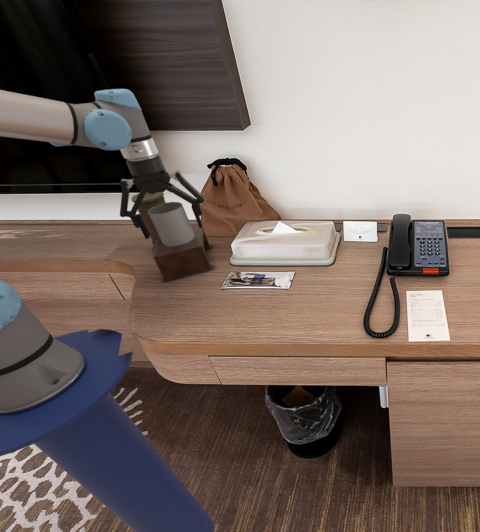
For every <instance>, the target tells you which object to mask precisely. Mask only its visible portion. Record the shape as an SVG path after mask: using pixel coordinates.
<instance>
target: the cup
mask: <svg viewBox="0 0 480 532" xmlns="http://www.w3.org/2000/svg"><path fill="white" fill-rule="evenodd" d="M148 214H149V216H150V218H151V220H152V222H153V224H154V226H155V228H156V230H157V232H158V234H159V237H160V239H161V241H162V243H163V245H165V246H171V247H173V246H179V245H182V244H185V243H188V242H190V241H191V240H193V239H194V238H195V234H194V232H193V229H192V227H191V226H192V224H191V221H190V220H189V217H188V215H187V212H186V209H185V208H184V206H183V203H182V202H180V201H170V202H166V203H163V204H159V205H156V206H154V207H152V208H150V209H149V210H148Z"/></svg>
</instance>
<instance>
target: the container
mask: <svg viewBox="0 0 480 532" xmlns="http://www.w3.org/2000/svg"><path fill="white" fill-rule="evenodd" d="M138 195H139V193H136V194H134V195H132V196H131V201H132V203H133V204H134V203H135V201H136V199H137V197H138ZM164 195H165V192H157V193H154V194H150V193H147V192H146V194H145V196H144V198H143V200H142V202H141V204H140V206H139V208H138V210H137V212H138V214H140V215H141V217H142V219H143V221H144V223H145V225H146V227H147V229H148V231H149V233H150V237H149V238H150V239H151V245H152V246H153V250H155V247H156V243H157V239H158V232H157V230H156V228H155V226H154V224H153V222H152V220H151V218H150V216H149V214H148V210H149V209H150V208H152V207H154V206H156V205H159V204H163V203H167V202H166V200H165V196H164Z"/></svg>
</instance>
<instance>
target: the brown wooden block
mask: <svg viewBox="0 0 480 532" xmlns="http://www.w3.org/2000/svg"><path fill="white" fill-rule="evenodd" d="M191 227H192V229H193V232H194V234H195V238H194V239H193V240H191V241H190V242H188V243H185V244H182V245H179V246H173V247H171V246H165V245H163V243H162V241H161V239H160V237H159V234H158V239H157V243H156V247H155V249H154V252H153V256H152V259H153V260H154V262H155V264H156V265H157V268H158V269H159V271H160V273H161V275H162V277H163V279H164V281H165V282H167V281H171V280H175V279H179V278H184V277H187V276H191V275H195V274H199V273H203V272H207V271H210V270H211V271H212V265H211V263H210V260H209V258H208V255H207V253H206V250H208V249H209V250H210V249H211V244H210V242H209V241H210V240H209V239H208V236H207V234H206V231H205V229H204V226H203V225H202V228H199V225H198V224H195V225H191Z"/></svg>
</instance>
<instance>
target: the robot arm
mask: <svg viewBox="0 0 480 532" xmlns="http://www.w3.org/2000/svg"><path fill="white" fill-rule="evenodd" d="M93 94H94V98H95V99H94V100H95V101H94V100H93V101H90V102H87V103H86V102H85V103H69V102H64V101H61V100H55V99H50V98H44V97H39V96H35V95H29V94H23V93H18V92H14V91H7V90H3V89H0V137H2V138H12V139H19V140H20V139H21V140H30V141H38V142H47V143H49V144H50V145H53V146H54V147H66V146H78V147H88V148H97V149H100V150H104V151H120V153H121V155H122V157H123V158H124V159H125V160H126V161H125V164H126V166H127V167H128V170H129V172H130V174H131V176H132V178H131V179H127V178H122V179H121V180H120V182H119V185H120V187H121V188H120V189H121V199H120V209H119V216H120V218H129V219H130V220H131V222H132V224H133V226H134V227H135V229H140V230H141V232H142V235H143V237H144V238H145V240H148V239H150V238H151V237H150V233H149V231H148V229H147V227H146V225H145V223H144V221H143V219H142V217H141V215H140V213H137V212H138V208H139V206H140V204H141V202H142V200H143V198H144V196H145V194H146V192H147V193H150V194H154V193H157V192H163V193H165V191H168V192H169V193H171V194H173V195H176V196H177V197H179V198H181V199H182V200H184V201H185V202H187V203H189V204H191V210H192V212H193V215H194V218H195V220H196V223H197V225H199V228H202V226H203V222H202V219H201V216H203V211H202V207H201V204H202V203H204V202H205V196H203V195H202V193H201V192H199V190H197V189H196V188H195V187H194V186H193V185H192V184H191V183H190V182H189V181H188V180H187V179H186V178H185V177H184V176H183V174H182V172H181V171H180V170H179V169H177V170H176V171H174V172H171V173H169V172H168V171H167V170H166V167H165V165H164V162H163V160H162V158H161V156H160V155H159V150H158V147H157V145H156V143H155V141H154V138H153V136H152V134H151V132H150V129H149V126H148V124H147V122H146V120H145V116H144V114H143V112H142V111H143V110H142V107H140V104H139V102H138V100H137V97H136V96H135V94H134V92H132V91H131V90H130V89H127V88H110V89H101V90H96V91H95V92H94V93H93ZM171 179H173V180H174V181H177V182H179V184H180V185H181V186H182V187H184V189H186V190H187V191H188V192H189V193H190V194H191V195H190V194H188V193H187V192H185V191H183V190H182V189H180V188H178V187H177V186H175V184H173V183H171ZM133 185H134V186H136V188H139V189H140V191H139V192H138V194H139V195H138V197H137V199H136V201H135V203H134V202H133V205H132V207H131V209H130V210H128V207H129V197H130V189H132V187H133ZM54 338H55V337H53V335H52V334H51V333H50V332H49V330H48V329H47V328H46V327H45V326H44V324H42V322H41V321H40V320H39V318H38V317H37V316H36V315H35V313H34V312H33V311H32V310H31V309H30V308H29V306H28V305H27V304H26V303H25V302H24V300H23V299H22V297H21V295H20V294H19V292H18V291H17V289H15V288H14V287H12V286H11V285H10V284H9V283H7V282H5V281H3V280H2V279H0V415H14V414H19V413H23V412H27V411H30V410H32V409H35V408H37V407H40V406H42V405H44V404H46V403H48V402H50V401H51V400H53V399H55V398H56V397H58V396H60V395H61V394H63V393H64V392H65V391H67V390H68V389H69V388H70V387H71V386H73V385H74V384H75V383H76V382H77V381H78V380H79V378H80V377H81V376H82V375H83V373H84V371H85V369H86V366H87V362H86V359H85V358H84V357H83V355H82V354H81V353H79V352H78V351H77V349H76V348H75V347H74V348H71V347H69V346H67V345H65V344H64V343H62V342H60V341H58V340H56V339H54Z"/></svg>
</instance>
